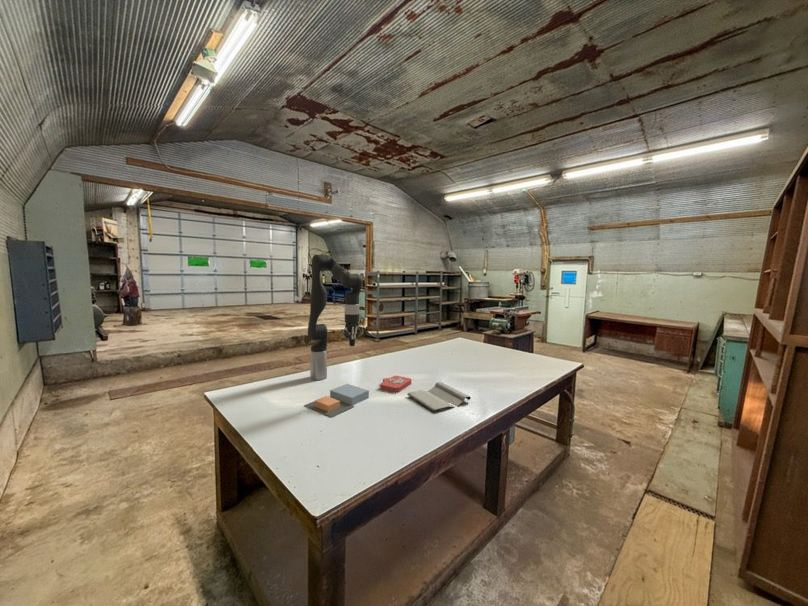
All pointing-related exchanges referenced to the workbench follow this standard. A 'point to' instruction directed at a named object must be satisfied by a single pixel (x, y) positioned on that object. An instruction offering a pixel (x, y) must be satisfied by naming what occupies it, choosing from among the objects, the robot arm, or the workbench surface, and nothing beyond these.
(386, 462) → the workbench surface
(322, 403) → the orange block
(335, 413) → the pad
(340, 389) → the block
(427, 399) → the mat
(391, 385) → the red flat case
